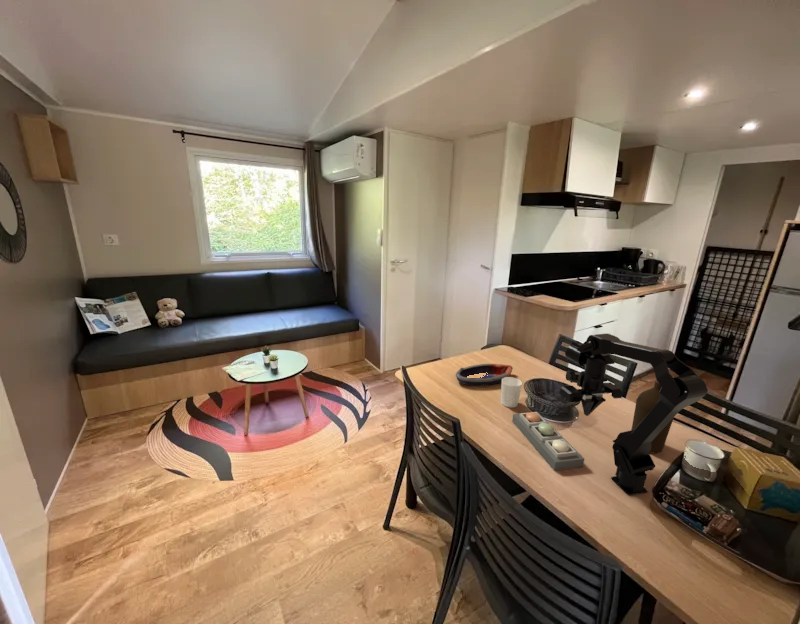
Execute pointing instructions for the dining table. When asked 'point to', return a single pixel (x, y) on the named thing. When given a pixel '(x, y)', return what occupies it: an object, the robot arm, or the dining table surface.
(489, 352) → the dining table surface
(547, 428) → the sage button
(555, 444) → the cream button
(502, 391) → the white cup
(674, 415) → the robot arm
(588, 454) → the dining table surface
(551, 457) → the button panel
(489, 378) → the dish
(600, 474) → the dining table surface
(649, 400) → the olive oil
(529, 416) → the terracotta button
